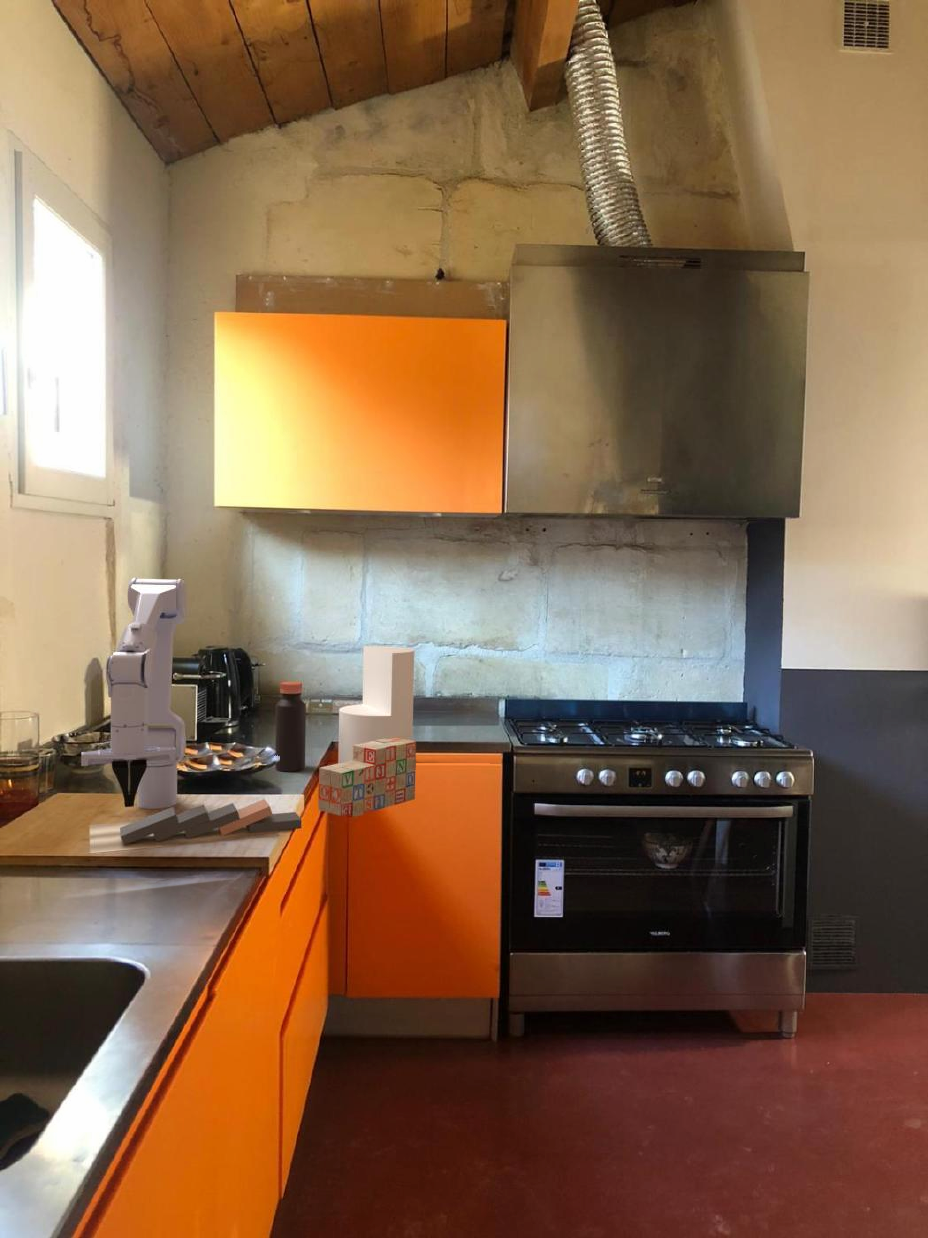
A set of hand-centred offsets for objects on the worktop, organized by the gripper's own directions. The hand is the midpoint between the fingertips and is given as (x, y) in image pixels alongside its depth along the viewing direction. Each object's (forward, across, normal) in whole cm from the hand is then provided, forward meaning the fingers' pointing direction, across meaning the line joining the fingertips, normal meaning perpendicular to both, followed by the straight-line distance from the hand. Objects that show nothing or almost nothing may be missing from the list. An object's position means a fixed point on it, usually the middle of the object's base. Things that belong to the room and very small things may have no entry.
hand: (129, 805), depth 146 cm
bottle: (+7, +37, +47) cm, 60 cm away
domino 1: (+5, -1, 0) cm, 5 cm away
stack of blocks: (+7, +45, +11) cm, 47 cm away
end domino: (+5, +19, 0) cm, 20 cm away
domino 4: (+5, +14, 0) cm, 15 cm away
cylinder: (+7, +56, +42) cm, 70 cm away
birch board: (+7, +9, +3) cm, 12 cm away
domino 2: (+5, +4, 0) cm, 6 cm away
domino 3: (+5, +9, 0) cm, 10 cm away
